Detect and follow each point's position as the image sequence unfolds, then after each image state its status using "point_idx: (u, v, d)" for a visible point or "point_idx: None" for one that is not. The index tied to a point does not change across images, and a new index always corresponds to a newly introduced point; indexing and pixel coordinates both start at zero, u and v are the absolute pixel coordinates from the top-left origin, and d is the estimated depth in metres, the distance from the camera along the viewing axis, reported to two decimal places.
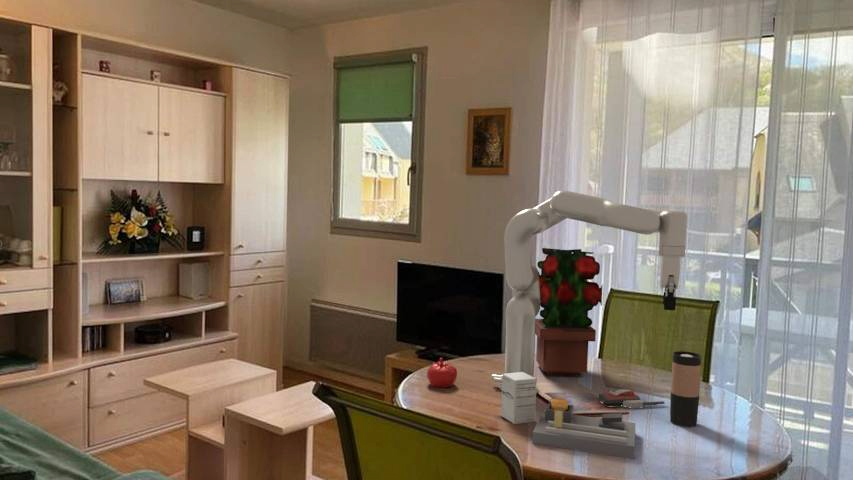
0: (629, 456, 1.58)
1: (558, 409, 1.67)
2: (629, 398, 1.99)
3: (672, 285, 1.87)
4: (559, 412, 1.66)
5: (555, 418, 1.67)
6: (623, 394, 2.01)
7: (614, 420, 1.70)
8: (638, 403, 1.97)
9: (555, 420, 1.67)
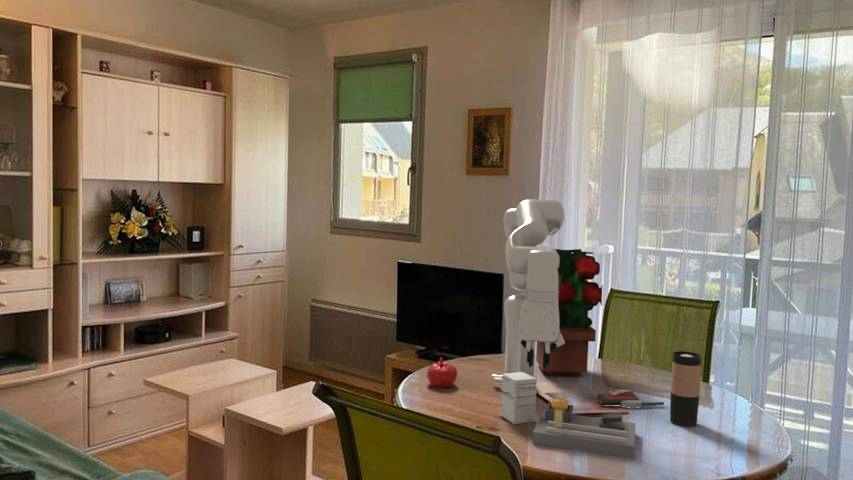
0: (629, 456, 1.58)
1: (558, 409, 1.67)
2: (627, 398, 1.99)
3: (563, 343, 1.67)
4: (559, 412, 1.66)
5: (555, 418, 1.67)
6: (622, 394, 2.02)
7: (614, 420, 1.70)
8: (636, 403, 1.97)
9: (555, 420, 1.67)
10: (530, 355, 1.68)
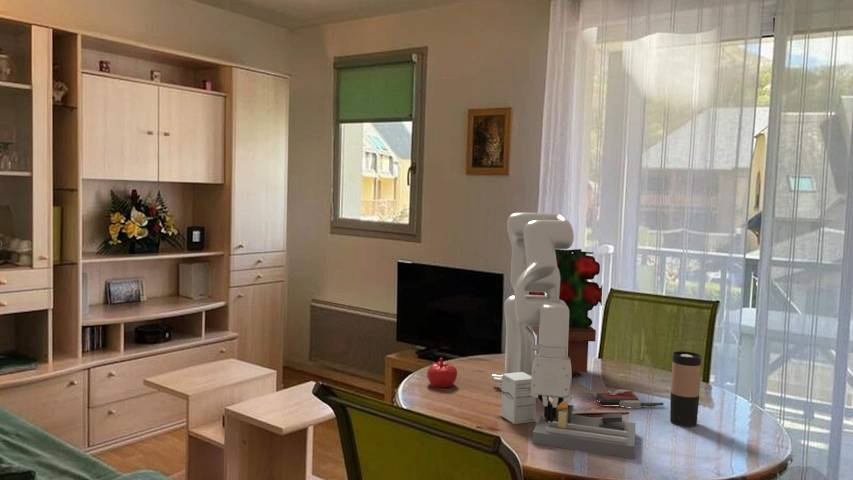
0: (629, 456, 1.58)
1: (562, 410, 1.67)
2: (626, 398, 1.99)
3: None
4: (563, 412, 1.66)
5: (559, 419, 1.66)
6: (621, 394, 2.02)
7: (614, 420, 1.70)
8: (635, 403, 1.97)
9: (559, 421, 1.66)
10: (547, 410, 1.67)
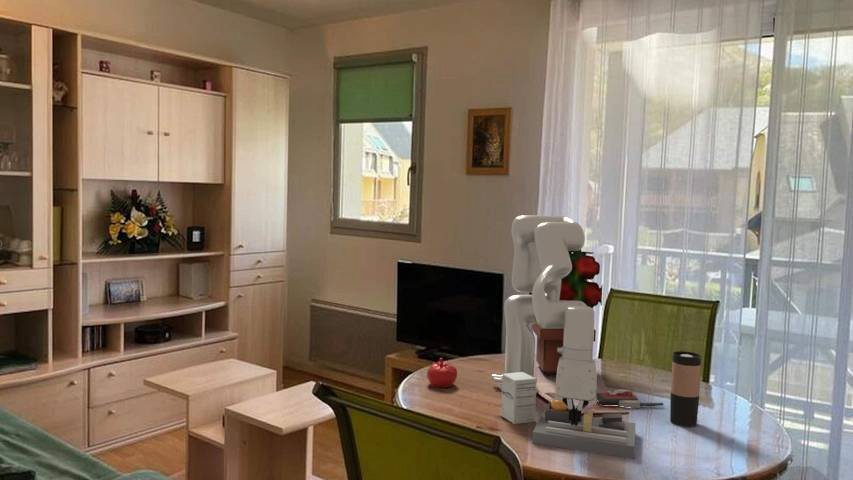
0: (629, 456, 1.58)
1: (587, 413, 1.65)
2: (625, 398, 1.99)
3: None
4: (588, 415, 1.64)
5: (584, 422, 1.64)
6: (621, 394, 2.02)
7: (614, 420, 1.70)
8: (634, 403, 1.97)
9: (584, 424, 1.64)
10: (572, 413, 1.65)
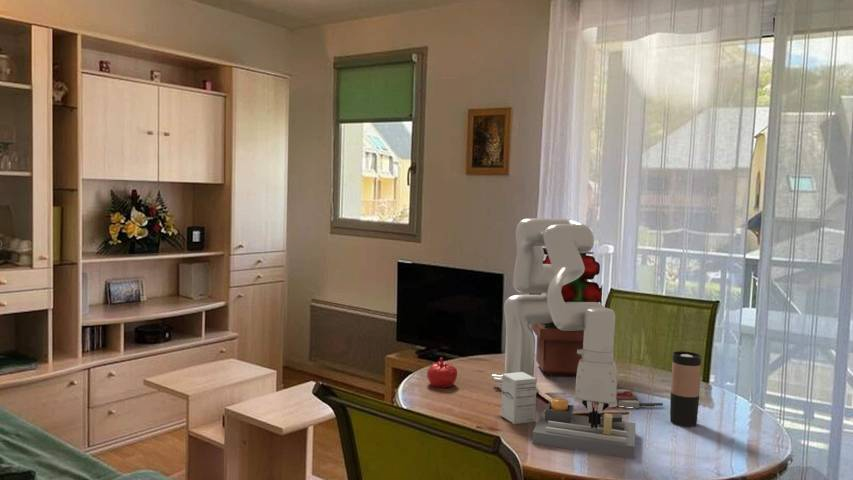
0: (629, 456, 1.58)
1: (607, 415, 1.63)
2: (625, 398, 1.99)
3: None
4: (608, 418, 1.62)
5: (604, 425, 1.63)
6: (620, 394, 2.02)
7: (614, 420, 1.70)
8: (634, 403, 1.97)
9: (604, 427, 1.63)
10: (592, 416, 1.63)
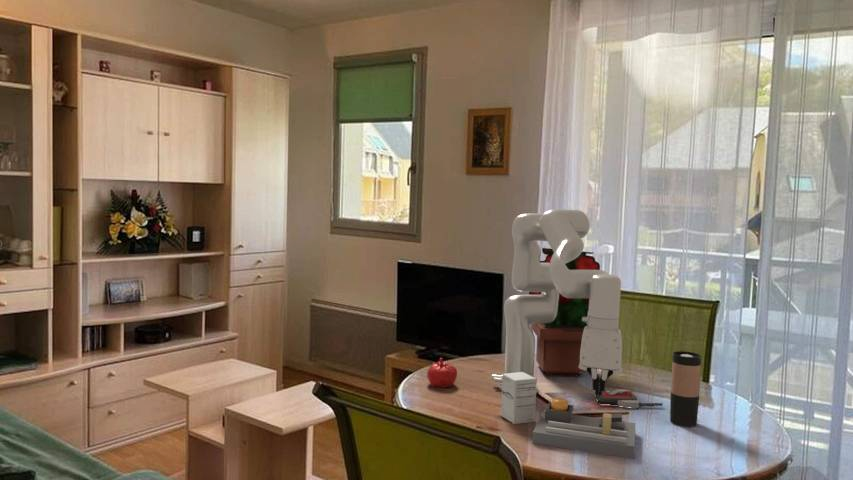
0: (629, 456, 1.58)
1: (606, 415, 1.64)
2: (624, 398, 1.99)
3: None
4: (607, 418, 1.62)
5: (603, 425, 1.63)
6: (620, 394, 2.02)
7: (614, 420, 1.70)
8: (633, 403, 1.97)
9: (603, 427, 1.63)
10: (596, 383, 1.63)
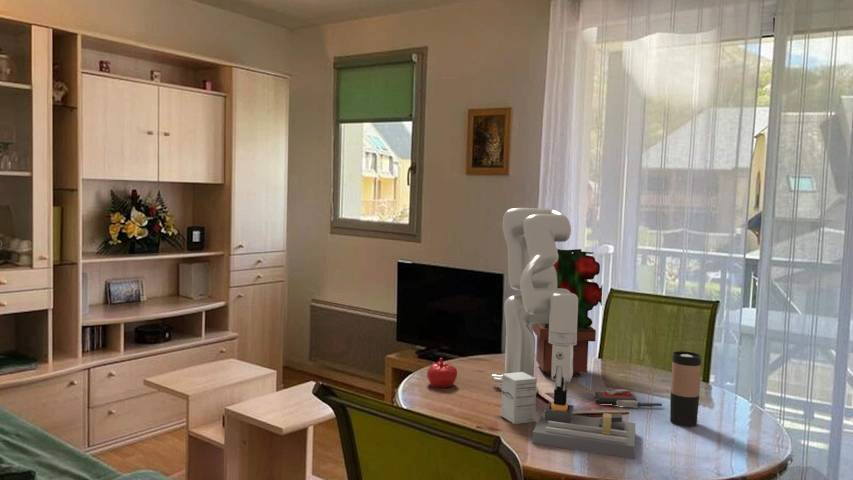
0: (629, 456, 1.58)
1: (606, 415, 1.64)
2: (623, 398, 1.99)
3: None
4: (607, 418, 1.62)
5: (603, 425, 1.63)
6: (619, 394, 2.02)
7: (614, 420, 1.70)
8: (632, 403, 1.97)
9: (603, 427, 1.63)
10: (566, 394, 1.75)
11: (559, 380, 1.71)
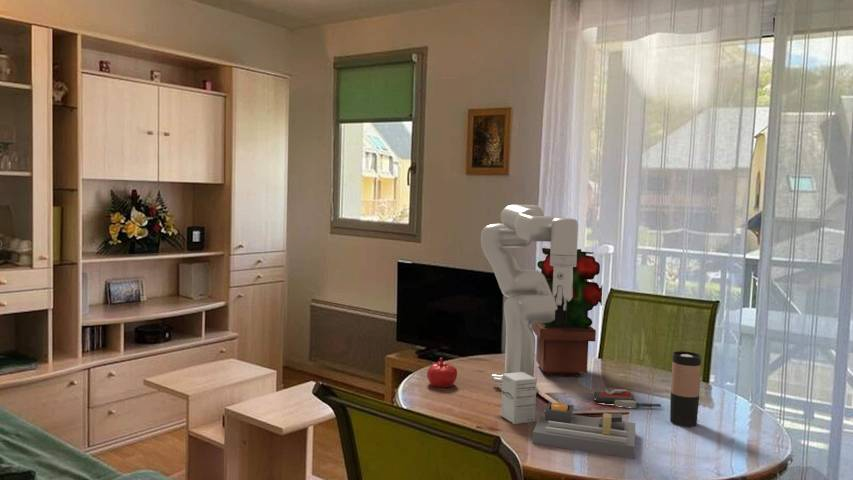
0: (629, 456, 1.58)
1: (606, 415, 1.64)
2: (622, 398, 1.99)
3: None
4: (607, 418, 1.62)
5: (603, 425, 1.63)
6: (618, 394, 2.02)
7: (614, 420, 1.70)
8: (630, 403, 1.97)
9: (603, 427, 1.63)
10: (566, 313, 1.86)
11: (560, 299, 1.82)
